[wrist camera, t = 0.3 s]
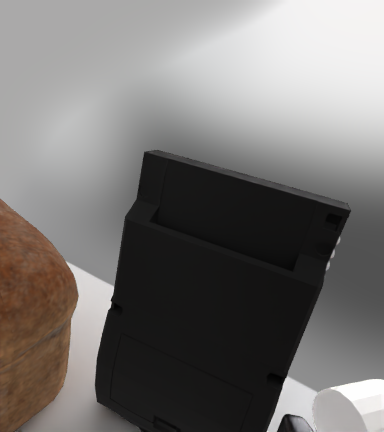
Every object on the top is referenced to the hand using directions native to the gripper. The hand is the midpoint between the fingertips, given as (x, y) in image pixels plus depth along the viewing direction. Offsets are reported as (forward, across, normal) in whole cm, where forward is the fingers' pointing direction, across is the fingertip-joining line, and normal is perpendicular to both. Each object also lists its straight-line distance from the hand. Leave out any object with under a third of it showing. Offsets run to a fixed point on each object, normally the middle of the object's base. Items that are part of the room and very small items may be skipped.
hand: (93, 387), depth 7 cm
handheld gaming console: (+12, -4, +17) cm, 21 cm away
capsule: (+13, -16, +14) cm, 25 cm away
